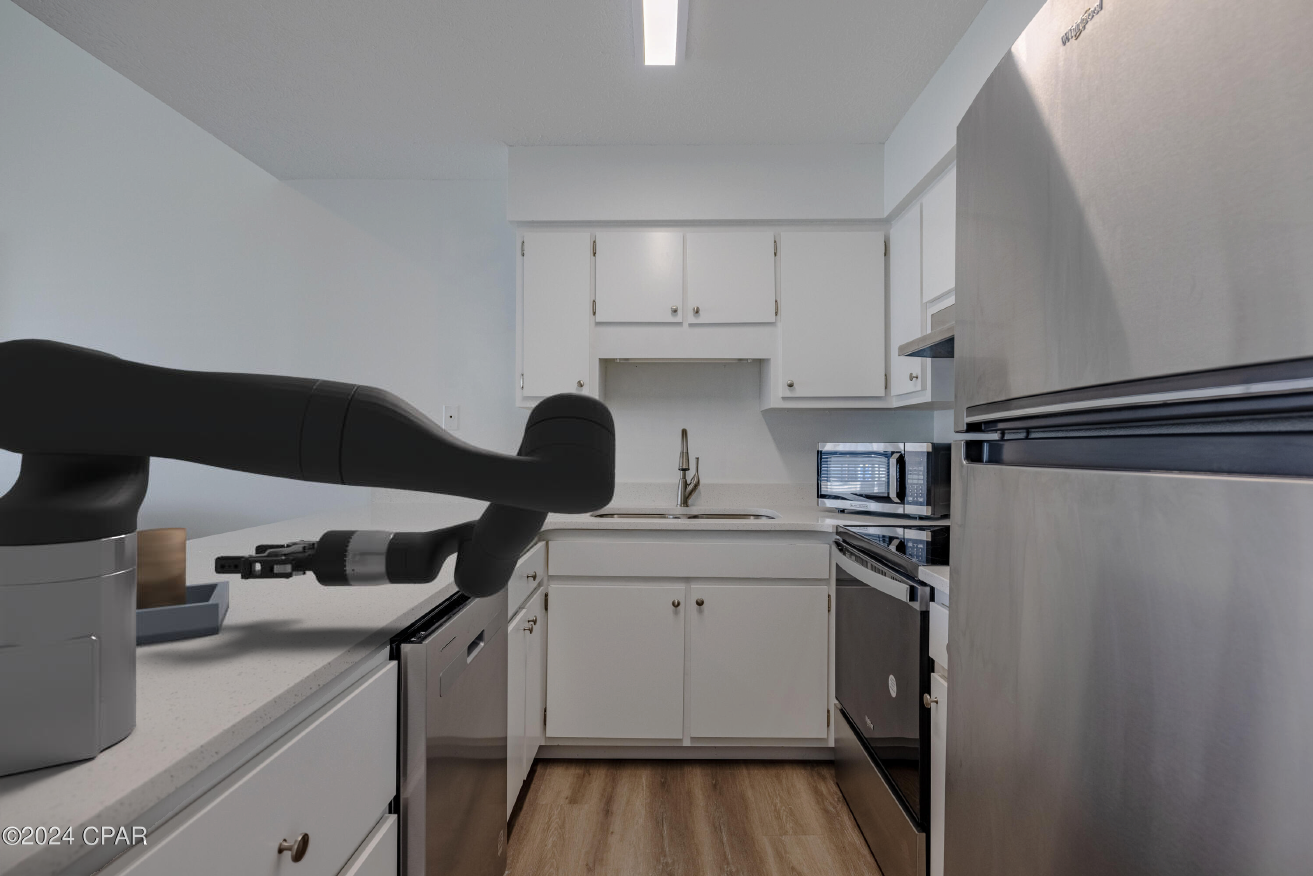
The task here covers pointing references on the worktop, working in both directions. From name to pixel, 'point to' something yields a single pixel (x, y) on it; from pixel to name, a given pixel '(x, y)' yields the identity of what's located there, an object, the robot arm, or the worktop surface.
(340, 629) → the worktop surface
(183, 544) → the canister
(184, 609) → the tray
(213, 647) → the worktop surface
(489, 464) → the robot arm
